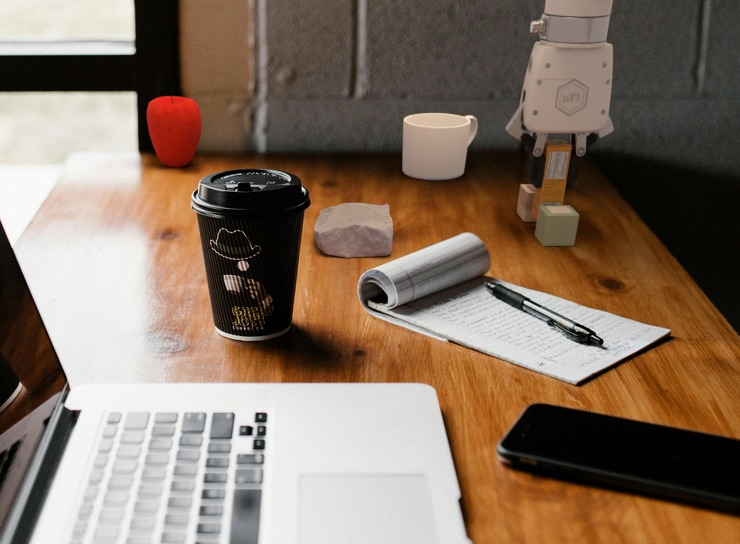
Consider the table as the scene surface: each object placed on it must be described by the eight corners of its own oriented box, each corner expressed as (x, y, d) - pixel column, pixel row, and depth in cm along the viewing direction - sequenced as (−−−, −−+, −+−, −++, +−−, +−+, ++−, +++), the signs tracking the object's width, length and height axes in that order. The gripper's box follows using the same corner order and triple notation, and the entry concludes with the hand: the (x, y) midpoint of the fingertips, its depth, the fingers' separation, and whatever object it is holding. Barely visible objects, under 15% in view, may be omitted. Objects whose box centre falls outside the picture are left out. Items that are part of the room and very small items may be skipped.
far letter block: (544, 212, 121) (549, 183, 118) (552, 221, 117) (557, 191, 115) (516, 212, 120) (520, 183, 118) (523, 221, 117) (527, 192, 115)
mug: (426, 184, 132) (431, 130, 128) (387, 169, 140) (389, 117, 136) (493, 172, 138) (499, 120, 134) (451, 158, 146) (456, 108, 142)
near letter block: (564, 235, 112) (570, 204, 110) (574, 245, 109) (579, 214, 107) (534, 235, 112) (539, 204, 110) (542, 246, 109) (547, 214, 107)
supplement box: (528, 214, 115) (541, 138, 110) (553, 215, 115) (568, 139, 110) (534, 222, 113) (548, 144, 107) (560, 223, 113) (575, 145, 107)
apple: (214, 162, 144) (211, 95, 139) (177, 174, 138) (172, 103, 133) (176, 154, 149) (171, 88, 143) (139, 165, 143) (133, 97, 137)
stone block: (319, 271, 107) (399, 255, 105) (312, 233, 104) (393, 217, 103) (318, 241, 117) (391, 227, 116) (311, 207, 115) (386, 192, 113)
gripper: (512, 36, 99) (494, 194, 108) (655, 34, 99) (624, 192, 109) (498, 27, 105) (481, 178, 115) (631, 26, 105) (604, 176, 115)
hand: (551, 183), depth 112 cm, fingers closed on supplement box, 3 cm apart
